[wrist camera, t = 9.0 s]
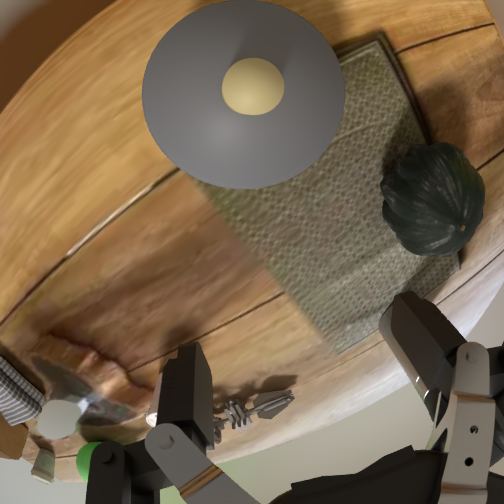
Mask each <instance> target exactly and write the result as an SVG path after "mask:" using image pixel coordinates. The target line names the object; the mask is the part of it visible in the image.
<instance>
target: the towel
mask: <svg viewBox="0 0 504 504" xmlns="http://www.w3.org/2000/svg"><path fill="white" fill-rule="evenodd" d="M44 402H45V396H44V395H42V393H41V392H39V391H38V390H37V389H36V388H35V387H34V386H33V385H31V384H30V383H29V382H28V381H27V380H26V379H25V378H24V377H22V376H21V375H20V374H19V373H18V372H17V371H16V370H15V369H14V368H13V367H12V366H11V365H10V364H9V363H8V362H7V361H6V360H5V359H3V357H1V356H0V412H1V413H2V415H3V417H4V418H5V419H6V421H7V422H8V423H9V424H10V425H11V426H14V425H16V424H19V423H23V422H26V421H28V420H32V419H34V418H36V417H37V416H38V415H39V414H40V413H41V412H42V408H41V405H42V404H43V403H44Z"/></svg>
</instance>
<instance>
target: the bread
mask: <svg viewBox="0 0 504 504" xmlns="http://www.w3.org/2000/svg"><path fill="white" fill-rule="evenodd" d="M27 435H28V429H27V428H26V427H25V426H24V425H23V424H22V423H19V424H16V425H14V426H11V425H10V424H9V423H8V422H7V421H6V419H5V418H4V417H3V415H2V413H1V412H0V457H1V458H6V459H15V460H19V458H20V457H21V456H22V451H23V448H24V445H25V442H26V438H27Z"/></svg>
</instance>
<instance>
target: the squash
mask: <svg viewBox="0 0 504 504" xmlns="http://www.w3.org/2000/svg"><path fill="white" fill-rule="evenodd" d="M380 188H381V191H382V193H383V196H384V198H385V200H384V202H383V206H382V214H383V218H384V220H385V222H386V223H387V224H388V225H389V227H390V228H391V229H392V230H393V231H394V232H395V233H396V235H397V238H398V240H399V242H400V243H401V245H402V246H403V247H404V248H405V249H407V250H408V251H410V252H412V253H414V254H416V255H421V256H425V255H432V256H436V257H447V256H450V255H452V254H454V253H456V252H458V251H459V250H460V249H461V248H462V247H463V246H464V244H466V243H467V242H468V241H470V239H471V238H472V236H473V234H474V232H475V229H476V228H477V226H478V225H479V224H480V222H481V220H482V218H483V206H484V202H485V186H484V182H483V180H482V177H481V176H480V174H479V173H478V172H477V170H476V169H475V168H474V167H473V166H472V165H471V164H470V162H469V160H468V158H467V157H466V156H465V154H464V153H463V152H462V151H461V150H460V149H459V148H458V147H456V146H455V145H453V144H449V143H446V142H438V143H435V144H432V145H430V146H427V145H422V144H416V145H413V146H411V147H410V148H409V150H408V152H407V154H406V157H399V158H398V159H397V160H396V161H395V163H394V172H393V173H390V174H388V175H387V176H385V177H384V178H383V180H382V181H381V183H380Z"/></svg>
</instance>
